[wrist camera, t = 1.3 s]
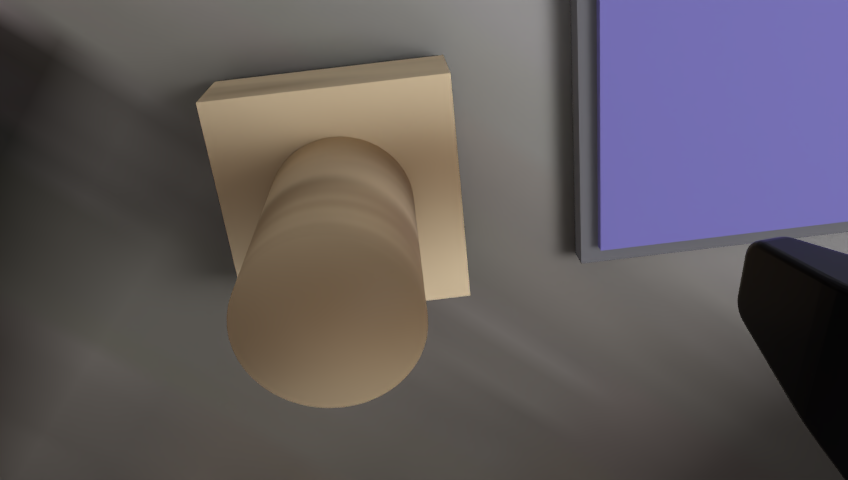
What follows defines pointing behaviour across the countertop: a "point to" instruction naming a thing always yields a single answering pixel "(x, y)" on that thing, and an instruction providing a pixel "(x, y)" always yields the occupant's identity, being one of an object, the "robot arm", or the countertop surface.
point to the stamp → (337, 222)
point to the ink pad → (707, 123)
